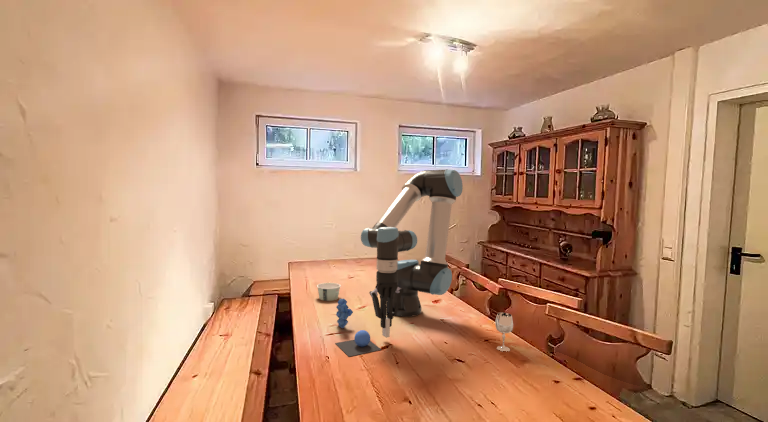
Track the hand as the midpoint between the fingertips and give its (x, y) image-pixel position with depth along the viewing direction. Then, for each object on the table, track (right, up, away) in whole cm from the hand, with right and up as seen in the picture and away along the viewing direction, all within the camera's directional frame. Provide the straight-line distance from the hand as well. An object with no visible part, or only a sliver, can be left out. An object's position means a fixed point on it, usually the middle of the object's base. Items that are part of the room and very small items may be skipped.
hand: (385, 335), depth 134 cm
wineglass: (+40, -3, -5) cm, 41 cm away
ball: (-8, +1, -5) cm, 10 cm away
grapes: (-16, -1, +13) cm, 21 cm away
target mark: (-10, -2, -5) cm, 11 cm away
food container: (-29, +1, +54) cm, 61 cm away
